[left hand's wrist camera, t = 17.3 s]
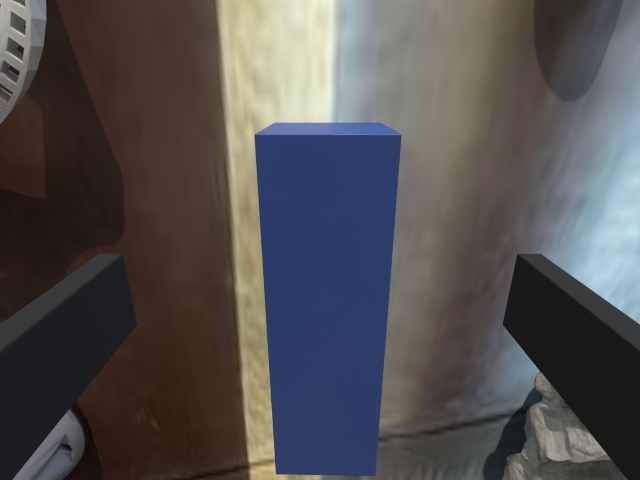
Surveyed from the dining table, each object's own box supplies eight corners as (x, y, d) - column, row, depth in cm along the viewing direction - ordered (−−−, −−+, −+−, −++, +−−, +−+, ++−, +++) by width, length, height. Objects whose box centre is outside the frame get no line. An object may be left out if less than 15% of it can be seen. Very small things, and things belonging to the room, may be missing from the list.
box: (273, 122, 30) (254, 133, 22) (381, 122, 30) (401, 133, 22) (286, 397, 41) (275, 474, 32) (365, 398, 41) (375, 476, 32)
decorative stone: (512, 298, 35) (579, 371, 26) (674, 296, 35) (799, 369, 26) (470, 518, 47) (505, 623, 38) (590, 519, 47) (656, 624, 38)
